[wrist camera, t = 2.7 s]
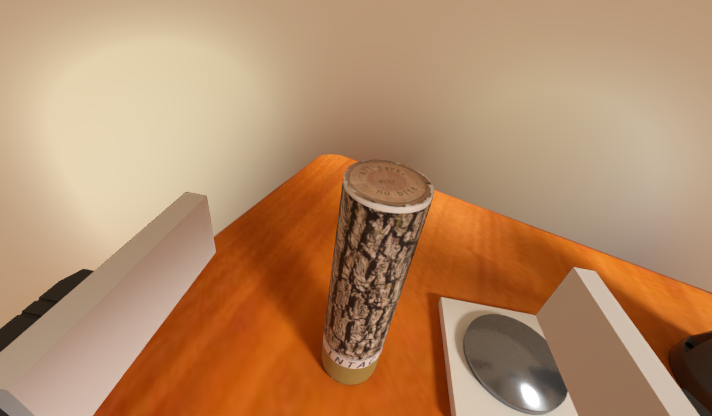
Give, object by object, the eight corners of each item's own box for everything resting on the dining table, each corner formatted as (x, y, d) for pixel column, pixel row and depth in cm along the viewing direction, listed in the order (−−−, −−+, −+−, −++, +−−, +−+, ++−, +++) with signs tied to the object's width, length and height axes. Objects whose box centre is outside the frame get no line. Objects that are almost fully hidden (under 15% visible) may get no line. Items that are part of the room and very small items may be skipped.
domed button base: (545, 324, 45) (553, 313, 44) (603, 456, 32) (618, 448, 30) (438, 303, 45) (443, 292, 44) (452, 425, 32) (459, 415, 31)
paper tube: (319, 333, 39) (339, 157, 25) (371, 331, 40) (418, 162, 26) (321, 390, 33) (349, 205, 19) (381, 385, 35) (448, 208, 20)
